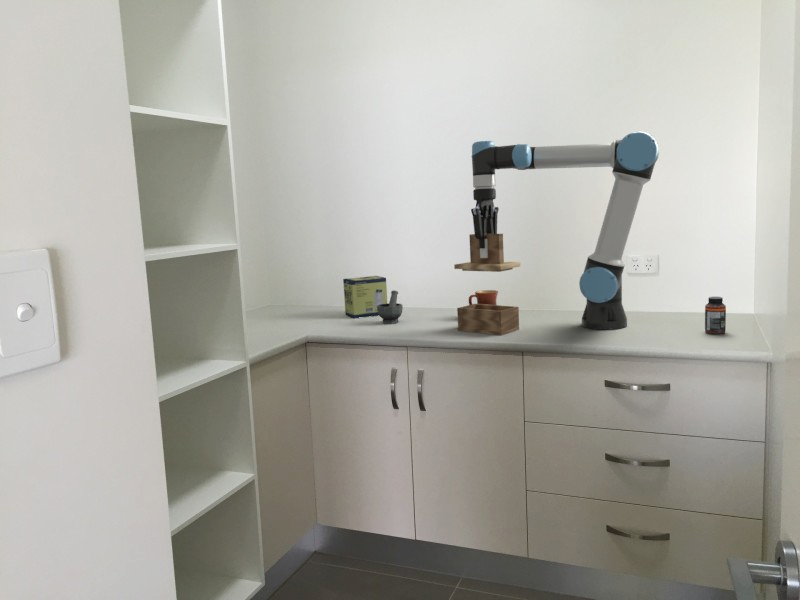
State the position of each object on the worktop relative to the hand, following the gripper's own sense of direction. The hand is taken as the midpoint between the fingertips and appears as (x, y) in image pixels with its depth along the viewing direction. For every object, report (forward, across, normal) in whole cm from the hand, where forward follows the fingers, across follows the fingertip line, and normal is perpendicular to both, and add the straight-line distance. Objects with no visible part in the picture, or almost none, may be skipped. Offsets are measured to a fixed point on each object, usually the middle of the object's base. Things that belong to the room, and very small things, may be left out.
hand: (486, 257), depth 231 cm
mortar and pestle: (+25, +4, -42) cm, 50 cm away
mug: (+26, -19, -15) cm, 35 cm away
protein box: (+25, -5, -64) cm, 69 cm away
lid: (+4, 0, 0) cm, 4 cm away
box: (+25, 0, 0) cm, 25 cm away
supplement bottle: (+26, -29, +66) cm, 76 cm away
